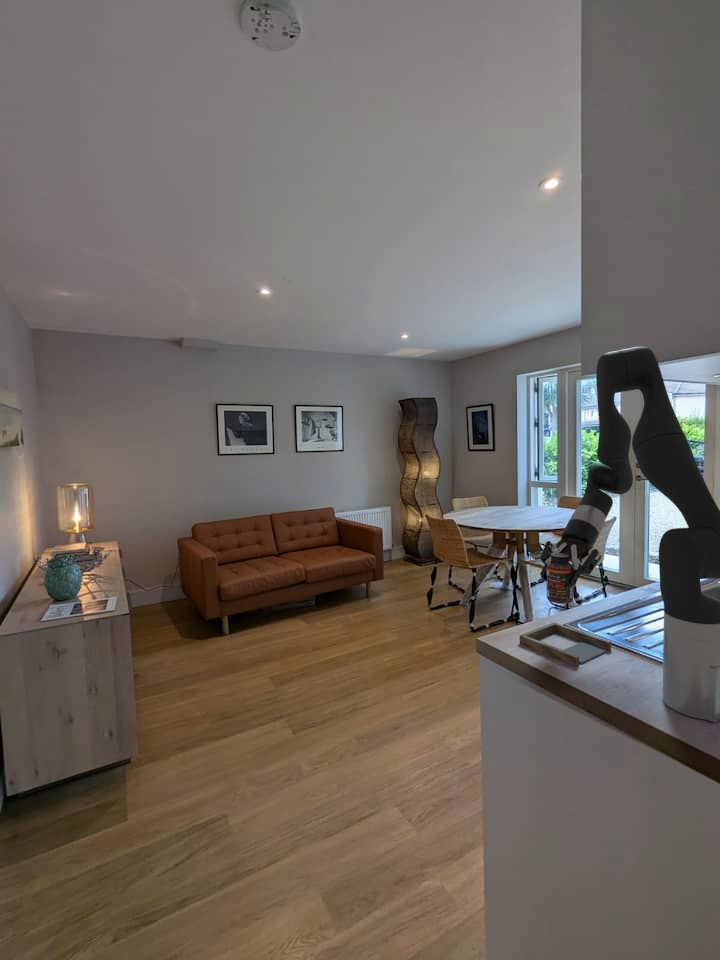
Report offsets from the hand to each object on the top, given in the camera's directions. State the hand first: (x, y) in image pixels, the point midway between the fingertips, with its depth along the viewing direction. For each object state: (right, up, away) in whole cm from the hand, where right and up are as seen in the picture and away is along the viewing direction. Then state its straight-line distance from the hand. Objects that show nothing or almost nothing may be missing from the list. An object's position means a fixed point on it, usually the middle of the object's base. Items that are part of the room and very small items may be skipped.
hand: (555, 582), depth 109 cm
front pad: (+5, -16, -3) cm, 17 cm away
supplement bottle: (+2, -5, +1) cm, 5 cm away
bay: (+3, -16, +1) cm, 16 cm away
